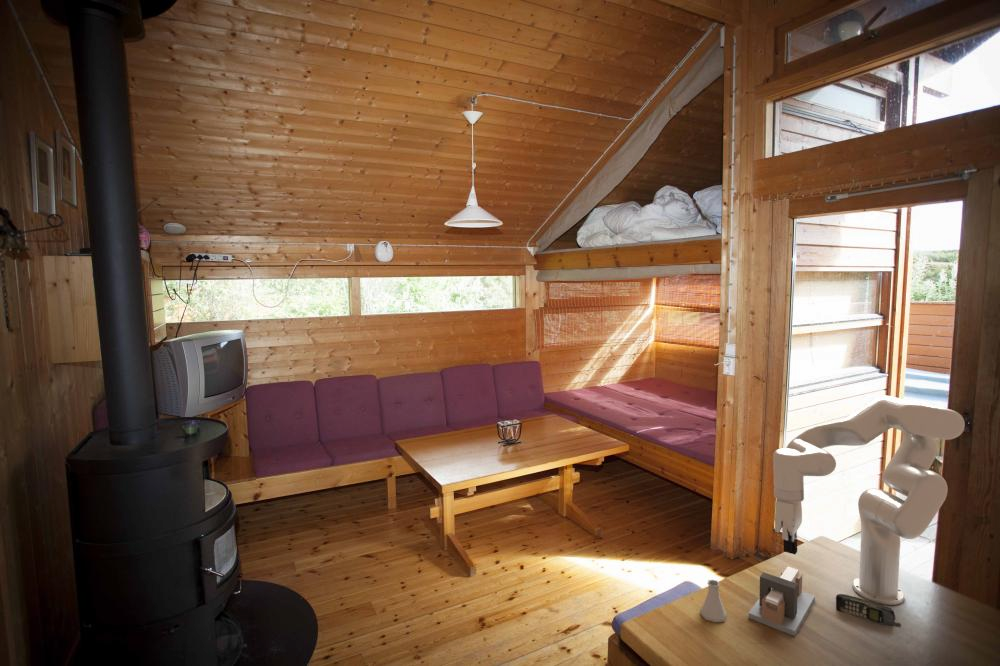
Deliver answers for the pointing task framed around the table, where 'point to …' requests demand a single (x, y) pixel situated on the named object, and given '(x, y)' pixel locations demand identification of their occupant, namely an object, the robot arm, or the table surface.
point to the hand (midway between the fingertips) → (790, 551)
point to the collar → (784, 586)
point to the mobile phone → (865, 609)
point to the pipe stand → (783, 606)
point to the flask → (713, 604)
